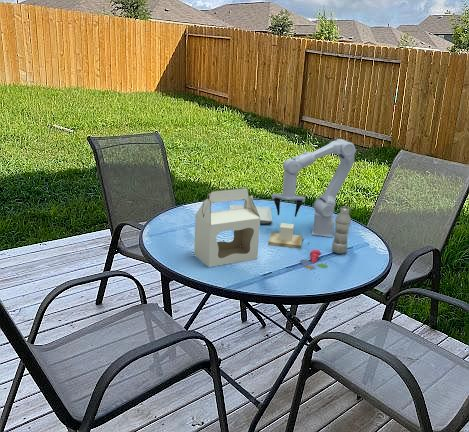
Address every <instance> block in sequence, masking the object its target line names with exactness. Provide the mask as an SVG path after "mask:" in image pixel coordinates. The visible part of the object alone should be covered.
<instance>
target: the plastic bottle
mask: <svg viewBox="0 0 469 432" xmlns="http://www.w3.org/2000/svg"><path fill="white" fill-rule="evenodd" d="M349 213H350V207H349V206H345V205H343V206H340V208H339V213H338V214H337V216H335V221H334V224H335V227H334V236H333V241H332V244H331V250H332V251H333V252H334V253H336V254H340V255H342V254H345V253H346V252H347V251H348V238H349V237H348V235H349V229H350V227H351V223H352V218H351V216H350V214H349Z"/></svg>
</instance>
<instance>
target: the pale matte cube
mask: <svg viewBox="0 0 469 432" xmlns="http://www.w3.org/2000/svg"><path fill="white" fill-rule="evenodd" d="M294 226H295V224H293V223H285V222H280V227H279V232H278V233H279V240H283V241H291V242H292V238H293V235H294Z"/></svg>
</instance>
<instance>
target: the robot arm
mask: <svg viewBox="0 0 469 432" xmlns="http://www.w3.org/2000/svg"><path fill="white" fill-rule="evenodd" d="M356 153H357V149H356V147H355V144H354V143H353V142H350V141H346V140H345V139H342V138H338V139H335V140H332V141H331V142H330V143H328V144H326V145H323V146H322V147H320V148H318V149H316V150H315V151H312V152H310V151H303V152H302V154H301V153H300V154H299V155H298V156H293V157H292V158H287V159H286V160H285V161H284V162H283V164H282V169H283V170H284V172H283V173H284V174H283V183H282V185H283V186H282V193H272V196H271V200H274V204H275V207H276V212H277V216H280V211H281V209H280V208H281V206H280V205H281V200H282V201H283V200H284V201H295V202H296V205H295V212H294V217H295V218H296V217H297V216H298V212H299V210H300V208H301V207H302V205H303V203H305V202H306V196H303V195H296V193H297V180H298V173H299V172H300V171H301V170H302V169H304V168H307V167H309V166H311V165H312V164H314V163H315V161H316V160H318V159H321V158H322V157H326V156H327V155H330V154H335V155H337V156H338V159H339V161H340V162H339V164H338V166H337V167H336V170H335V172H334V174H333V176H332V178H331V180H330V181H329V182H328V183H329V184H328V185H327V187H326V189H325V190H324V192H323V193H322V194H320V195H319V197H318V198H317V199H315V200H314V202H313V205H312V206H313V209H314V217H313V218H314V219H313V226H312V227H313V228H311V235H312V236H317V237H318V236H319V237H327V238H328V237H329V238H334V236H333V235H334V233H335V222H336V221H335V220H336V216H334V215H333V214H334V213H335V212H334V211H335V206H336V205H337V204H336V198H337V196H338V195H339V192H340V191H341V188H342V186H343V185H344V182H345V181H346V179H347V177H348V175H349V173H350V171H351V170H352V168H353V166H354V164H355V154H356Z"/></svg>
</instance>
